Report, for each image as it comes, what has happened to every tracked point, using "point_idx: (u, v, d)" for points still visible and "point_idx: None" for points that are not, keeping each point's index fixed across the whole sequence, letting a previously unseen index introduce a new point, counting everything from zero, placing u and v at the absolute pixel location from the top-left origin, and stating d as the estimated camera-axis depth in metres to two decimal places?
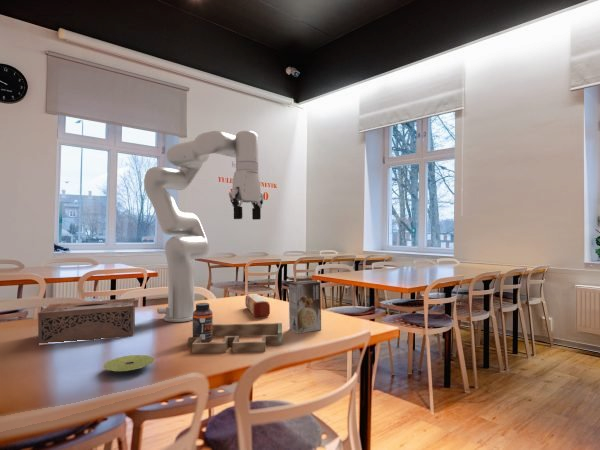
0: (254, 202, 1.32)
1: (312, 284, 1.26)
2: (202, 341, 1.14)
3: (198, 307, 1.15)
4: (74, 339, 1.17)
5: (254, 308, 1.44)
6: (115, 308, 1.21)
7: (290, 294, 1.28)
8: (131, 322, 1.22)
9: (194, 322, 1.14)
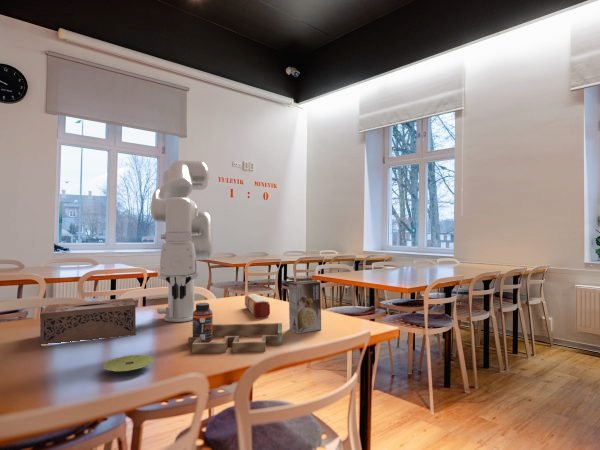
0: (175, 276, 1.16)
1: (312, 284, 1.26)
2: (202, 341, 1.14)
3: (198, 307, 1.15)
4: (77, 339, 1.16)
5: (254, 308, 1.44)
6: (118, 307, 1.22)
7: (290, 294, 1.28)
8: (133, 321, 1.24)
9: (194, 322, 1.14)
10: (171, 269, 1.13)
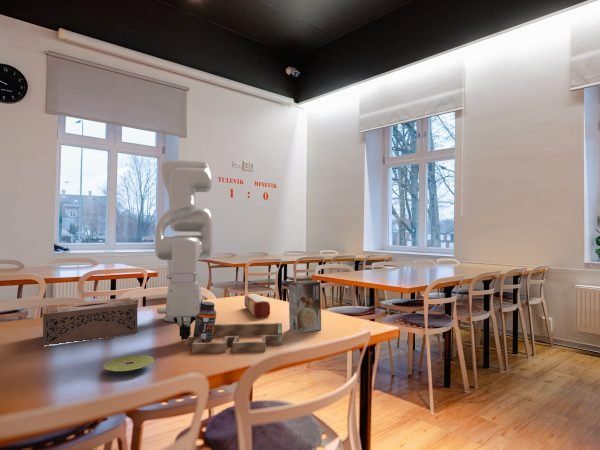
0: None
1: (312, 284, 1.26)
2: (202, 340, 1.14)
3: (203, 305, 1.15)
4: (79, 339, 1.17)
5: (254, 308, 1.44)
6: (120, 307, 1.23)
7: (290, 294, 1.28)
8: (135, 320, 1.25)
9: (197, 320, 1.14)
10: (177, 310, 1.13)
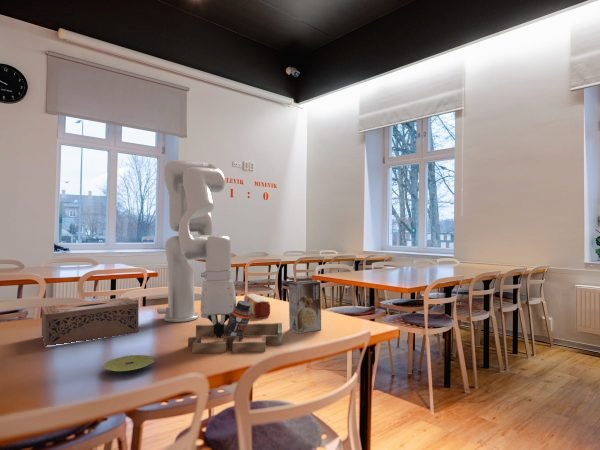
0: None
1: (312, 284, 1.26)
2: None
3: (239, 305, 1.14)
4: (82, 339, 1.17)
5: (255, 308, 1.44)
6: (121, 306, 1.24)
7: (290, 294, 1.28)
8: (136, 319, 1.26)
9: (230, 318, 1.14)
10: (212, 308, 1.13)
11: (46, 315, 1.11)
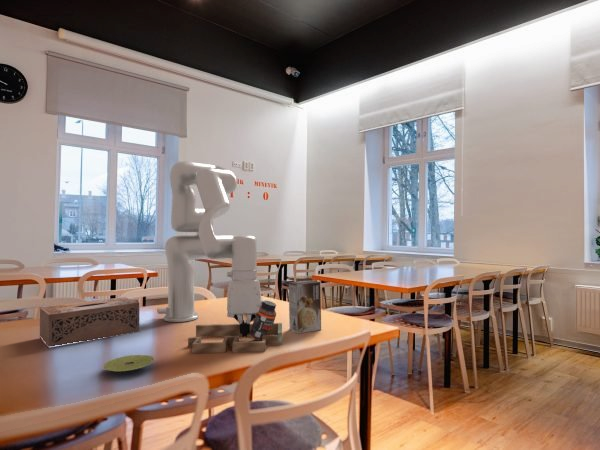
0: (241, 313, 1.17)
1: (312, 284, 1.26)
2: (256, 338, 1.14)
3: (264, 304, 1.14)
4: (84, 339, 1.17)
5: None
6: (123, 306, 1.25)
7: (290, 294, 1.28)
8: (137, 318, 1.28)
9: (256, 317, 1.15)
10: (238, 308, 1.14)
11: (49, 315, 1.11)
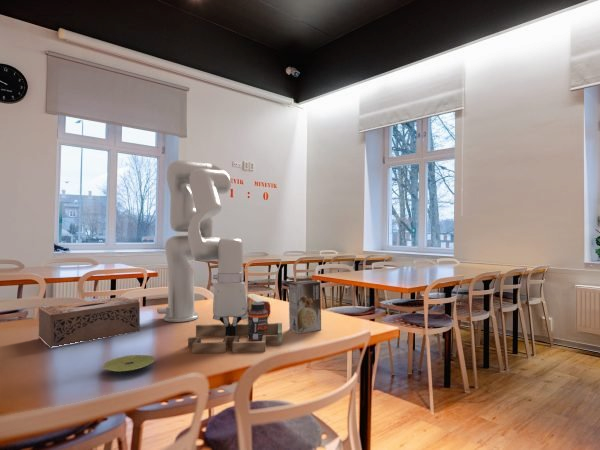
0: None
1: (312, 284, 1.26)
2: None
3: (252, 306, 1.15)
4: (86, 338, 1.17)
5: None
6: (124, 305, 1.25)
7: (290, 294, 1.28)
8: (138, 318, 1.28)
9: (248, 321, 1.15)
10: (224, 310, 1.14)
11: (51, 315, 1.11)
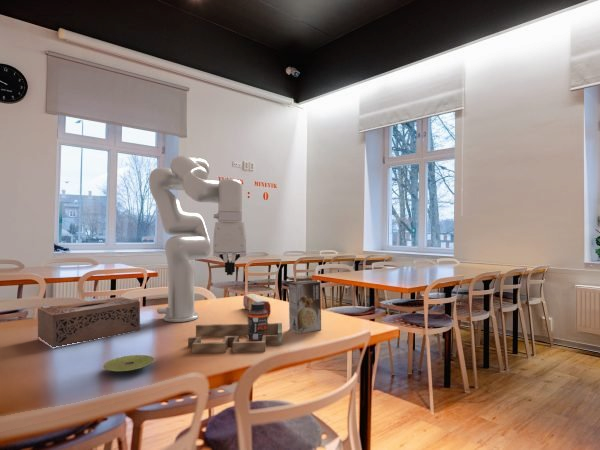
0: (227, 253, 1.23)
1: (312, 284, 1.26)
2: None
3: (252, 306, 1.15)
4: (87, 338, 1.17)
5: None
6: (124, 305, 1.26)
7: (290, 294, 1.28)
8: (138, 317, 1.29)
9: (248, 321, 1.15)
10: (224, 246, 1.20)
11: (53, 316, 1.10)
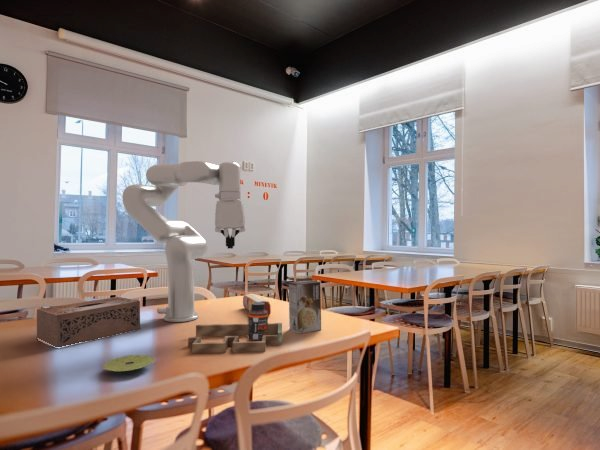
0: (227, 229, 1.37)
1: (312, 284, 1.26)
2: None
3: (252, 306, 1.15)
4: (90, 338, 1.17)
5: None
6: (125, 304, 1.27)
7: (290, 294, 1.28)
8: (138, 316, 1.30)
9: (249, 321, 1.15)
10: (224, 222, 1.34)
11: (58, 316, 1.10)
